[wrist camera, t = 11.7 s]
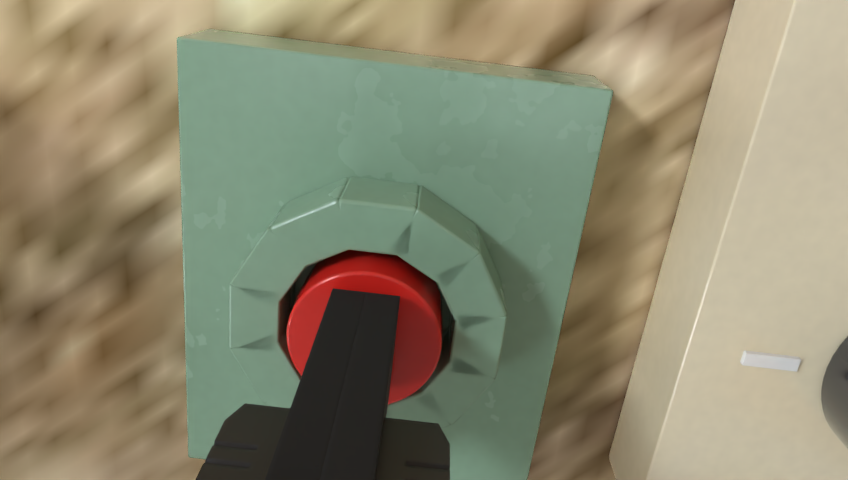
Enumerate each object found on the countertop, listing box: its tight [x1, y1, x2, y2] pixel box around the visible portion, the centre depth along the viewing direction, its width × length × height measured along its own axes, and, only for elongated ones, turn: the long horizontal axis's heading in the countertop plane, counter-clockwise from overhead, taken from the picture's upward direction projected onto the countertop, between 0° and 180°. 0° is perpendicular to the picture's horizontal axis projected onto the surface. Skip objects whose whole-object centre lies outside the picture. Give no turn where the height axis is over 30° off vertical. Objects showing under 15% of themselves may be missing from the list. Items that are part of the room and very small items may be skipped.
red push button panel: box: [177, 29, 613, 480], centre depth 18 cm, size 12×10×4 cm
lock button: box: [286, 250, 442, 404], centre depth 16 cm, size 4×4×2 cm
